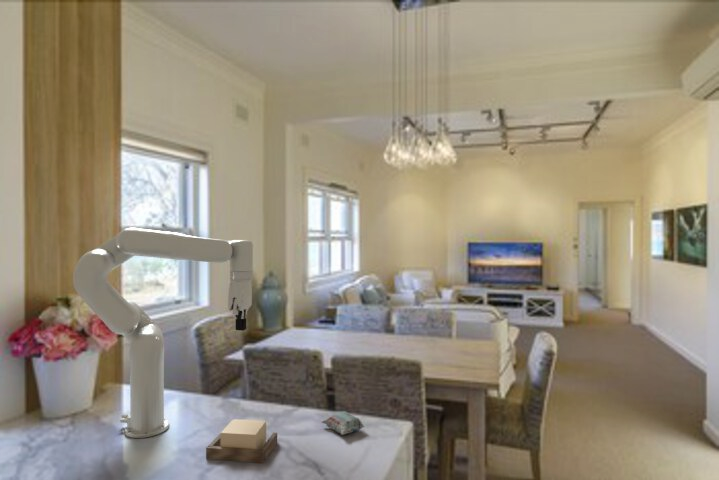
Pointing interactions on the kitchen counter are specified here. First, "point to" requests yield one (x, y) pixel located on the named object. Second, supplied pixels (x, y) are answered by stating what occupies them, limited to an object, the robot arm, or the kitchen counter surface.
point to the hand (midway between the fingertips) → (240, 329)
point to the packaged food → (343, 422)
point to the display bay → (240, 451)
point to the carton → (244, 434)
